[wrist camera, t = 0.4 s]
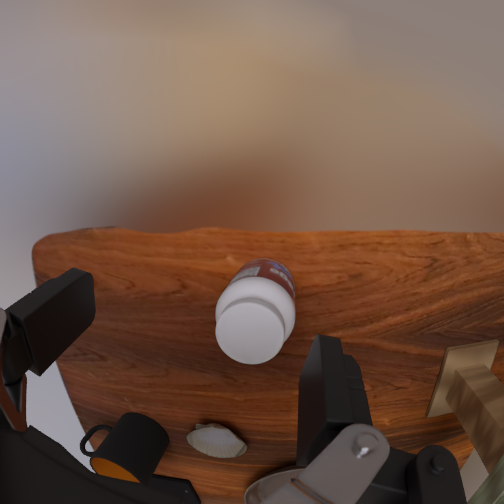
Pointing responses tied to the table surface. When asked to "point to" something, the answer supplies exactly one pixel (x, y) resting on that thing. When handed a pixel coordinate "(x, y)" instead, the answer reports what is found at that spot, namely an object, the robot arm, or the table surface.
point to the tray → (475, 409)
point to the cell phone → (175, 488)
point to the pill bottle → (256, 312)
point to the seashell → (216, 441)
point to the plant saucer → (270, 483)
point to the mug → (128, 448)
